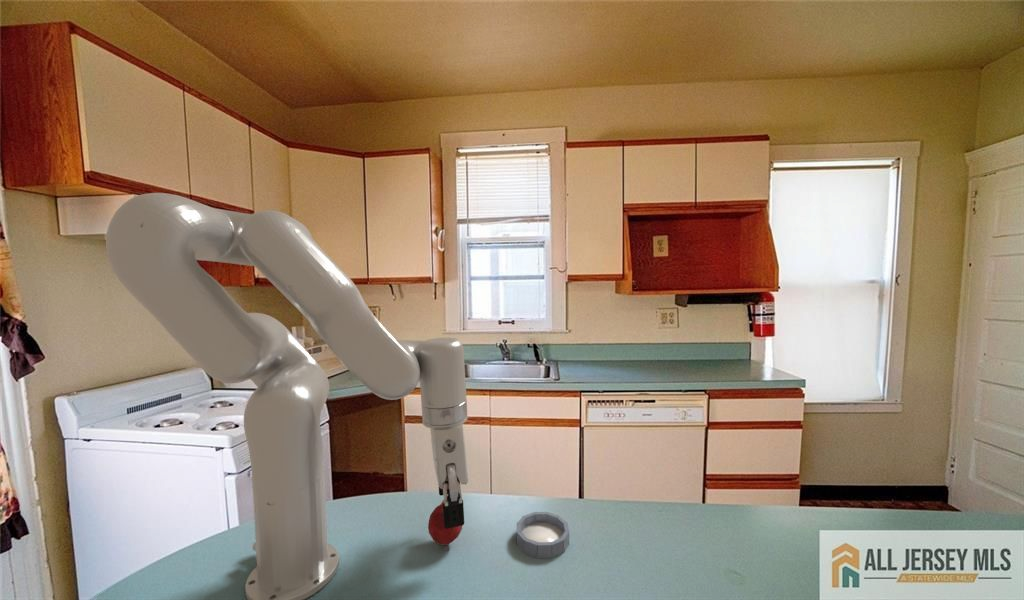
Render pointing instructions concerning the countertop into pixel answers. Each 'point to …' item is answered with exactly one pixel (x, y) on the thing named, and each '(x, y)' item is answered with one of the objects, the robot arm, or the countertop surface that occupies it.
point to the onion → (441, 527)
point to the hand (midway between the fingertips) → (450, 508)
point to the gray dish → (542, 534)
